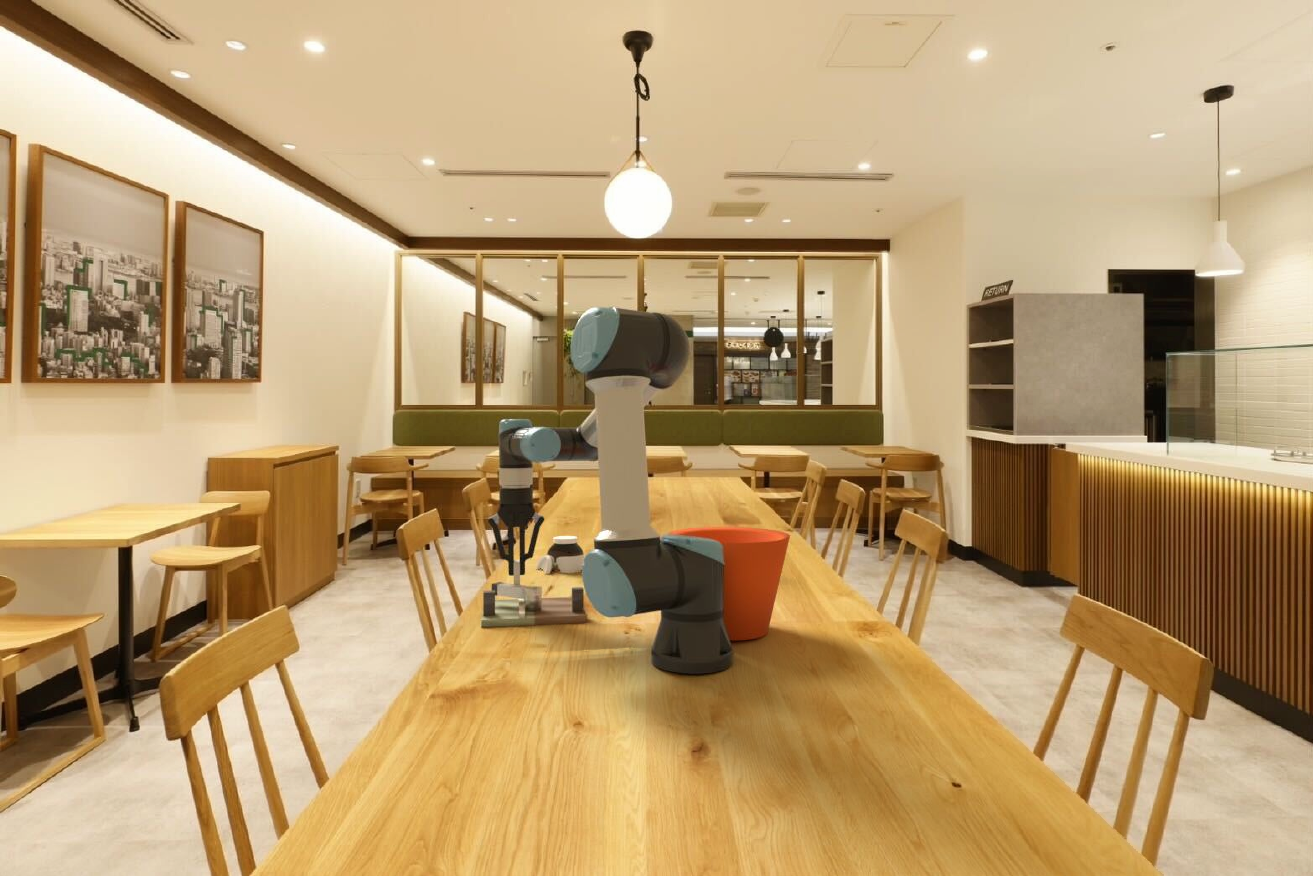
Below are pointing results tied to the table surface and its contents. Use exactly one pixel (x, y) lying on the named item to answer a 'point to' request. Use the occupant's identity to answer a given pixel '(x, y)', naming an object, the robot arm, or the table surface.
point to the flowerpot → (747, 575)
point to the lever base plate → (516, 614)
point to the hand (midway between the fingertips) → (516, 589)
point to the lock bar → (521, 594)
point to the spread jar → (563, 556)
